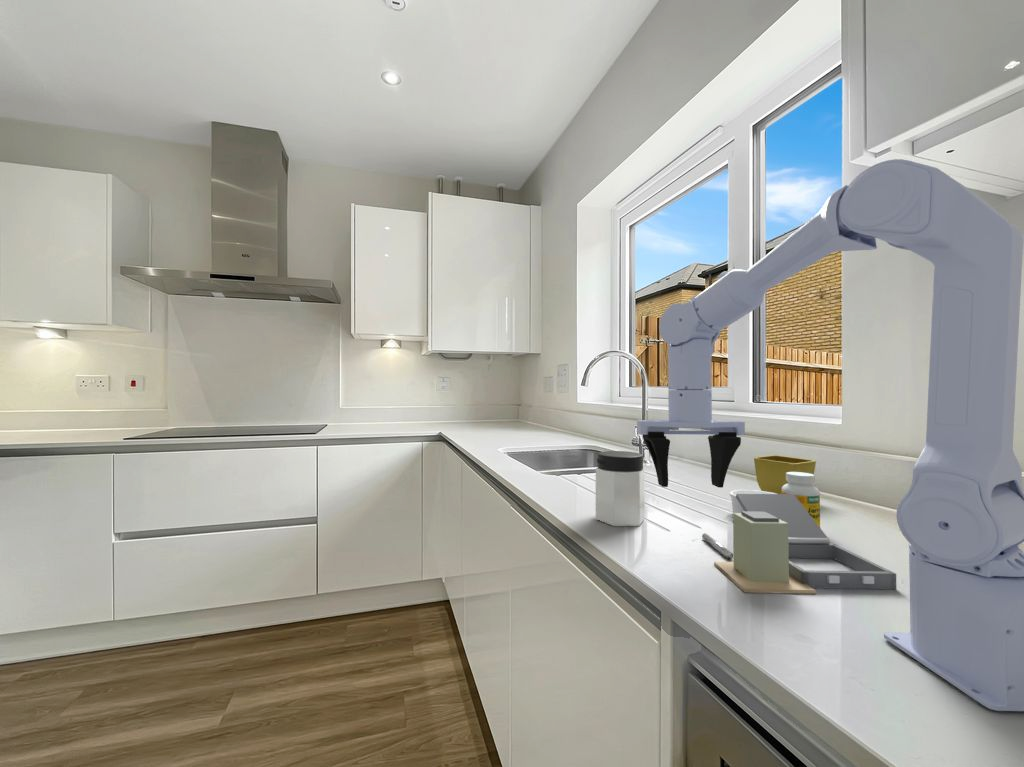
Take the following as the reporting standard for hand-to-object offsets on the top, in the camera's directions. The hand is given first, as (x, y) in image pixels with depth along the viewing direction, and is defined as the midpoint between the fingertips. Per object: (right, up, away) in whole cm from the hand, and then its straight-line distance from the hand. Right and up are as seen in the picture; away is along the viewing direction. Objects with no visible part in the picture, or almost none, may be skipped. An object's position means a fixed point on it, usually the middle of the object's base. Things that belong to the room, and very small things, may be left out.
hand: (690, 485), depth 61 cm
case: (+15, -10, -5) cm, 19 cm away
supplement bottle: (+23, -11, +11) cm, 28 cm away
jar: (-6, -11, +17) cm, 21 cm away
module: (+6, -9, -7) cm, 13 cm away
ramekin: (+21, -11, +19) cm, 30 cm away
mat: (+6, -10, -7) cm, 14 cm away
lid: (+15, -10, +4) cm, 18 cm away
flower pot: (+34, -11, +32) cm, 48 cm away
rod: (+5, -10, +3) cm, 11 cm away
